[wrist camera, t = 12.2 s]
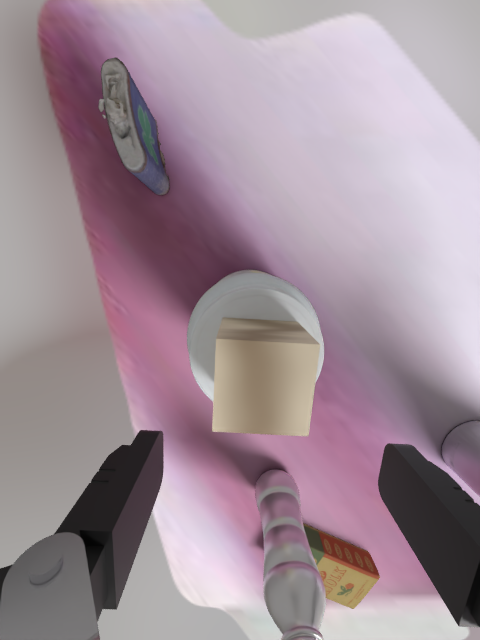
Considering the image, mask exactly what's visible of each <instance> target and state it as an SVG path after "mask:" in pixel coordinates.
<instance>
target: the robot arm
mask: <svg viewBox="0 0 480 640" xmlns="http://www.w3.org/2000/svg"><path fill="white" fill-rule="evenodd" d="M442 457H443V459H444V461H445V463H446V464H447V465H448V466H449V467H450V468H451V469H452V470H453V471H454V472H455V473H456V474H457V475H458V476H459V477H460V478H461V479H462V480H463V481H464V482H465V483H466V484H467V485H468V486H469V487H470V488H471V489H472V490H473V491H474V492H475V493H476V494H477V495H479V496H480V421H469V422H466V423H463V424H461V425H459V426H457V427H456V428H455V429H453V430H452V431H451V432H450V433H449V434H448V435H447V437H446V439H445V440H444V443H443V445H442ZM162 477H163V432H162V431H148V430H141V431H139V433H138V434H137V436H136V438H135V439H134V441H133V443H132V444H131V445H122V446H120V447H119V448H118V449H116V450H115V451H114V452H113V453H111V454H110V455H109V456H108V457H107V459H106V460H105V461H104V463H103V464H102V466H101V467H100V469H99V472H97V473H96V475H95V476H94V477H93V479H92V481H91V483H89V485H88V486H87V488H86V489H85V491H84V492H83V494H82V495H81V496H80V498H79V499H78V501H77V502H76V504H75V505H74V506H73V508H72V509H71V511H70V512H69V514H68V515H67V517H66V518H65V519H64V521H63V522H62V524H61V525H60V527H59V528H58V530H57V531H56V532H55V534H54V535H51V536H49V537H46V538H44V539H42V540H40V541H39V542H37V543H35V544H34V545H32V547H30V548H29V549H27V550H26V551H25V552H24V553H23V554H22V555H21V556H20V557H19V558H18V559H17V560H16V561H15V562H14V564H13V565H10V566H7V567H4V568H1V569H0V640H100V636H99V631H98V624H97V621H98V619H99V616H100V614H101V611H102V609H117V607H118V604H119V601H120V598H121V596H122V593H123V590H124V587H125V584H126V581H127V579H128V576H129V573H130V570H131V568H132V565H133V562H134V559H135V557H136V554H137V551H138V548H139V545H140V543H141V540H142V537H143V534H144V531H145V528H146V526H147V523H148V520H149V518H150V515H151V512H152V509H153V506H154V504H155V501H156V498H157V495H158V492H159V490H160V486H161V482H162ZM378 486H379V492H380V495H381V498H382V500H383V502H384V503H385V505H386V507H387V508H388V510H389V512H390V513H391V515H392V517H393V518H394V520H395V522H396V523H397V525H398V527H399V528H400V530H401V532H402V533H403V535H404V536H405V538H406V540H407V541H408V543H409V545H410V546H411V548H412V550H413V551H414V553H415V555H416V556H417V558H418V560H419V561H420V563H421V565H422V566H423V568H424V570H425V571H426V573H427V575H428V576H429V578H430V580H431V581H432V583H433V584H434V586H435V588H436V589H437V591H438V593H439V594H440V596H441V598H442V599H443V601H444V603H445V604H446V606H447V608H448V609H449V611H450V613H451V614H452V616H453V618H454V619H455V621H456V623H457V624H458V626H462V627H480V506H479V505H478V504H477V503H474V500H473V499H472V498H471V497H470V496H469V495H468V494H467V493H466V492H465V491H463V490H462V488H461V487H460V486H459V485H458V484H457V483H456V482H455V481H454V480H453V479H452V478H451V476H450V475H449V474H448V473H446V472H445V471H443V470H442V469H440V468H439V467H437V466H436V465H434V464H433V463H432V462H430V461H427V460H426V459H425V458H424V457H423V456H422V454H421V453H420V452H419V451H418V450H417V449H416V448H415V447H414V446H412V445H408V444H387V445H386V446H385V449H384V453H383V459H382V464H381V469H380V474H379V479H378Z"/></svg>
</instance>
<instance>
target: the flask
mask: <svg viewBox="0 0 480 640" xmlns="http://www.w3.org/2000/svg"><path fill="white" fill-rule="evenodd" d="M101 80H102V92H103V99H100V100H99V110H100V111H101V112H102V111H103V110H104V108H105V112H106V116H105V115H103V114H102V116H103V117H104V118H107V121H108V125H109V128H110V132H111V135H112V138H113V141H114V144H115V146H116V149H117V152H118V154H119V157H120V159H121V161H122V163H123V164H124V166H125V168H126V169H127V170H128V171H130V172H131V173H132V174H133V175H135V176H136V177H137V178H138V179H139V180H140V181H142V182H143V183H144V184H145V185H146V186H147V187H148V188H150V189H151V190H152V191H153V192H154V193H155V194H157V195H164V194H166V193H168V190H169V178H168V176H167V174H166V171H165V162H164V160H165V159H164V155H163V154H162V152H161V150H160V145H161V144H160V142H159V140H158V134H159V133H158V129H157V122H156V120H155V119H154V117H153V116H152V114H151V112H150V110H149V109H148V107H147V105H146V103H145V101H144V99H143V97H142V96H141V94H140V92H139V90H138V88H137V87H136V85H135V83H134V81H133V79H132V78H131V76H130V73H129V72H128V70H127V68H126V66H125V65H124V64H123V62H122V61H120V60H119V59H118V58H112V59H108V60H106V61H105V62H104V64H103V65H102V69H101ZM103 103H104V105H103Z"/></svg>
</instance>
